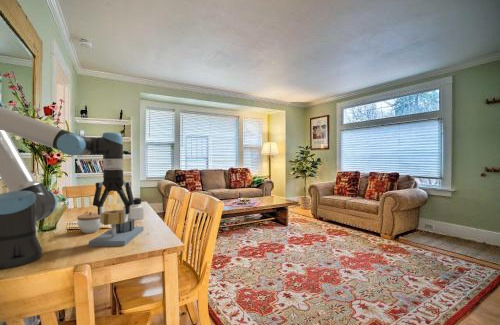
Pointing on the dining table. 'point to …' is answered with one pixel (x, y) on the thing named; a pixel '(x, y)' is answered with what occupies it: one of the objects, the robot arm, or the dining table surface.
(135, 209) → the medicine bottle
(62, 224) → the dining table surface
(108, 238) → the gear board
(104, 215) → the bronze gear
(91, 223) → the lidded jar
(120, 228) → the dark gear
